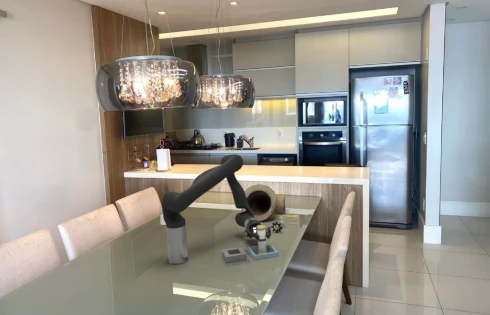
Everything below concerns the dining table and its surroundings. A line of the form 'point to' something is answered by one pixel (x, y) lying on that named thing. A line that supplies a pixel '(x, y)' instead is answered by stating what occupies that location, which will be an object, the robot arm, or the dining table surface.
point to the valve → (279, 224)
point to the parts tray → (264, 255)
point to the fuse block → (234, 256)
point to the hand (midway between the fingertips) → (263, 237)
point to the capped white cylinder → (261, 239)
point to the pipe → (264, 201)
